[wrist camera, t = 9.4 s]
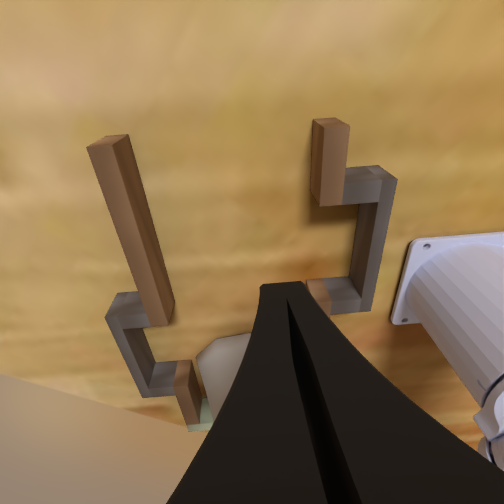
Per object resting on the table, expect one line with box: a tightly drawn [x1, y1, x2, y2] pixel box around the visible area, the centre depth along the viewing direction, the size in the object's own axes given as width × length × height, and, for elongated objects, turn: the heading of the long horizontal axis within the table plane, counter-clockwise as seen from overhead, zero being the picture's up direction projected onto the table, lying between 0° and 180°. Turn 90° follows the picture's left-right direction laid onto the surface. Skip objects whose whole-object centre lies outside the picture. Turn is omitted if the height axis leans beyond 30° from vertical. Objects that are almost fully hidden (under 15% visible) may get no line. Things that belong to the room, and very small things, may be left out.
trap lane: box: [86, 118, 398, 432], centre depth 22 cm, size 18×26×2 cm
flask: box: [196, 333, 251, 421], centre depth 22 cm, size 7×7×10 cm
